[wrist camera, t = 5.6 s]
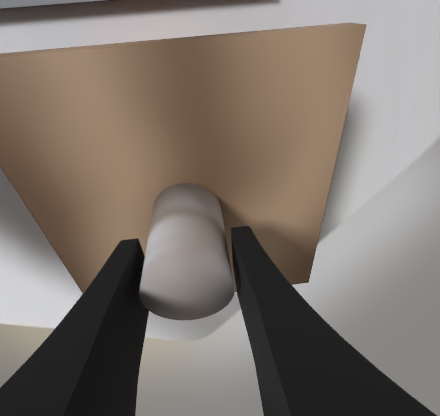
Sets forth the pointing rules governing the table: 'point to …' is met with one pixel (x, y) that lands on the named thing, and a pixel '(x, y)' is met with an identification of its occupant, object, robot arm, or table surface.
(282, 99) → the cover board
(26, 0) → the mat
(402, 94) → the table surface
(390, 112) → the table surface
